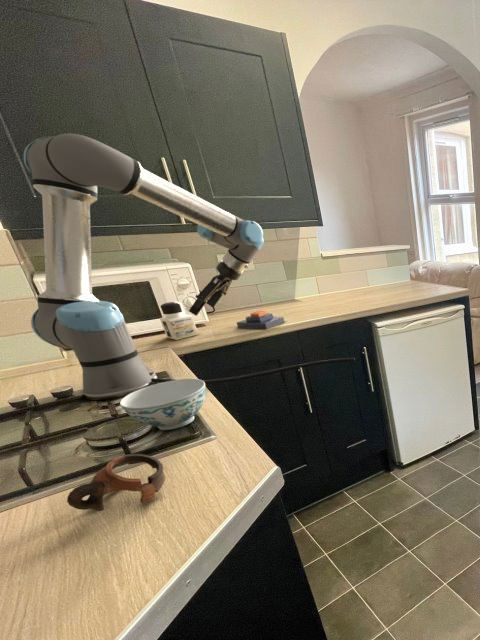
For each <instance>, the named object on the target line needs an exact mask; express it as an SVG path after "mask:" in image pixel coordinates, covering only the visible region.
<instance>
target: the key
mask: <svg viewBox="0 0 480 640" xmlns="http://www.w3.org/2000/svg"><path fill="white" fill-rule="evenodd" d="M266 313H267V311H266V310H256V311H253V312H251V313H250V316H251V317H261V316H264V315H267V314H266Z"/></svg>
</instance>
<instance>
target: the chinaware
mask: <svg viewBox="0 0 480 640" xmlns="http://www.w3.org/2000/svg"><path fill="white" fill-rule="evenodd" d="M206 391H207V388H206V384H205V382H204V380H202V379H199V378H181V379H175V380H172V381H167V382H157V383H156V384H154V385H151V386H148V387H145V388H142V389H139V390H137V391H135V392H132V393H130V394H129V395H127V396H123V397H122V399H121V400H120V402H119V405H120V406H121V408H122V409H123V410H124V412H125V413H126V414H128V416H130V417H131V418H133V419H134V420H136V421H137V422H140V423H142V424H145V425H147V426H153V427H157V428H158V429H159V430H161V431H169V430H170V431H171V430H174V429H178V428H179V429H180V428H182V427H184V426H187V425H189V424H191V423H192V422H194V420H195V415H196V414H197V413H198V412H199V411H200V410H201V409H202V407H203V405H204V403H205V400H206V396H207V395H206V394H207V392H206Z"/></svg>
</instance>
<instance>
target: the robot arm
mask: <svg viewBox="0 0 480 640" xmlns="http://www.w3.org/2000/svg"><path fill="white" fill-rule="evenodd" d="M23 163H24V165H25V168H26V169H27V170H28V172H29V173H30V174H31V177H32V187H33V189H35V190H36V191H37V192H38V193H39V194H40V195H41V199H42V202H41V203H42V223H43V246H44V250H43V251H44V271H45V273H44V274H45V290H44V291H43V292H42V293H40V294H39V295H37V309H36V310H35V311H34V312H33V314H32V315H31V318H30V326H31V328H32V331H33V332H34V333H35V335H36V336H37V337H38V338H39V339H40V340H42V341H44V342H46V343H48V344H50V345H52V346H54V347H57V348H61V349H68V350H69V349H70V350H73V353H74V354H75V356H76V358H77V360H78V362H79V364H80V366H81V370H82V391H83V394H84V396H85V398H86V399H87V400H90V401H105V400H113V399H117V398H118V399H119V398H124V397H125V396H127V395H129V394H130V393H132V392H135V391H137V390H139V389H142V388H145V387H148V386H151V385H154V384H158V383H162V382H167V381H172V380H176V378H175V379H172V378H158V376H157V374H156V373H155V371H154V370H153V369H152V368H151V367H150V366H149V365H148V364H147V362H145V361H144V359H142V358H141V356H140V355H139V352H138V349H137V347H136V345H135V343H134V339H133V338H132V336H131V333H130V331H129V328H128V326H127V324H126V321H125V318H124V314H123V313H122V312H121V311H120V309H119V307H118V306H117V305H116V304H115V303H113V302H111V301H105V300H99V299H98V298H97V297H96V296H95V295H94V294H93V278H92V277H93V276H92V274H93V273H92V239H91V238H92V237H91V235H92V234H91V205H93V203H95V202H97V201H98V187H101V188H104V189H109V190H112V191H115V192H117V193H119V194H122V195H124V196H128V195H133V196H134V197H137V198H139V199H141V200H144V201H146V202H148V203H150V204H153V205H154V206H157V207H159V208H161V209H164V210H165V211H168V212H171V213H172V214H174V215H177V216H179V217H181V218H182V219H183V218H184V219H185V220H188V221H190V222H192V223H195V225H197V228H196V229H197V234H198V235H199V237H201V238H203V239H205V240H207V241H208V242H211V243H213V244H216V245H219V246H221V247H223V248H226V249H227V251H226V252H225V254H224V255H223V256H222V260H220V261H219V262H218V264H217V265H216V268H215V269H216V270H217V272H218V273H219V274H217V275H215V276H213V277H212V278H211V280H210V281H209V282H207V284H206V285H205V286H204V288H203V289H202V290H201V291H200V292H199V293H198V294H195V296H194V297H195V298H196V299H195V301H194V302H193V304H192V305H191V307H190V308H189V309H188V312H189V313H190V314H192V315H194V316H196V317H197V316H198V315H199V314H200V312H201V310H202V309H203V308H204V306H205V304H207V305H208V306H210V307H211V308H215V306H216V305H217V303H218V302H219V301H220V300H221V298H222V297H223V295H224V296H226V295H227V292H228V290H229V289H230V286H231V284H232V282H233V281H238V280H239V278H240V277H241V276H242V274H243V272H244V271H245V270H246V269H249V266H248V265H249V264H251V262H252V260H253V259H254V258H255V257H256V255H257V254H258V253H259V251H260V250H261V248H262V246H263V245H264V243H265V239H264V230H263V229H262V226H260V224H259V223H258V222H256V221H254V220H248V219H242V218H241V217H238V216H237V215H234V214H232V213H230V212H228V211H226V210H224V209H222V208H220V207H218V206H217V205H214V204H213V203H211V202H208V201H207V200H205V199H203V198H202V197H199V196H198V195H195V194H193V193H192V192H190V191H188V190H186V189H184V188H182V187H180V186H178V185H176V184H174V183H172V182H170V181H168V180H166V179H165V178H163V177H160V176H159V175H157V174H155V173H152V172H151V171H149V170H147V169H145V168H143V166H142V165H141V163H140V162H139V161H138V160H136V159H134V158H132V157H131V156H129V155H126V154H125V153H123V152H121V151H120V150H118V149H115V148H113V147H112V146H109V145H107V144H105V143H103V142H101V141H99V140H97V139H94V138H91V137H89V136H85V135H83V134H78V133H61V134H58V135H54V136H42V137H39V138H37V139H35V140H32V141H31V142H29V143H28V145H27V146H26V147H25V148H24V151H23ZM344 362H345V363H346V362H356V358H355V357H348V358H347V357H346V358H334V359H326V360H325V359H324V360H318V361H317V360H316V361H311V362H306V363H300V364H295V365H289V366H285V367H279V368H274V369H270V370H265V371H261V372H255V373H251V374H243V375H239V376H232V377H225V378H216V379H208V380H204V379H203V381H204V382H205V385H209V384H220V383H227V382H234V381H241V380H247V379H251V378H258V377H262V376H266V375H272V374H277V373H281V372H285V371H291V370H295V369H301V368H307V367H311V366H317V365H324V364H325V365H326V364H332V363H333V364H334V363H344ZM161 381H162V382H161Z"/></svg>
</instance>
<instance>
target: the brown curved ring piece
mask: <svg viewBox="0 0 480 640" xmlns="http://www.w3.org/2000/svg"><path fill="white" fill-rule="evenodd" d="M122 463H128V465H129V466H131V465H136V464H143V463H145V464H147V465H149V466H150V467H151V469H156V471H155V472H154V473H152V474H151V475H149V476H148V477H147V482H145V483H142V479H141V478H129V477H124V476H121V475H119V474H117V473H115V472H114V470H115V469H116V468H117V467H118V466H119V465H120V464H122ZM165 480H166V474H165V471H164V467H163V463H162V462H161V460H159V459H157V458H155V457H153V456H150V455H148V454H143V453H130V454H129V453H128V454H125V455H123V454H122V455H121V456H117V457H114V458H112V459H111V460H110V461H109V462H107V464H106V466H104V467H102V468H101V469H100V470H98V472H97V473H95V475H94V476H93V478H92V480H91V481H90V482H87V483H82V484H80V485H78V486H76V487H74V488H73V489H72V490H71V491H69V492H68V496H67V499H66V502H67V503H68V505H69V506H70V507H72V508H74V509H77V510H79V511H80V510H82V511H86V510H87V511H88V510H93V511H96V512H101V511H104V509H105V507H104V496H106V495H108V494H111V493H114V492H118V491H127V492H140V493H141V497H140V503H141V504H146V503H151V502H152V501H153V500H154V498H155V497H156V493H158V492H159V491H160V490H161V489H162V488H163V485H164V483H165ZM87 496H88V498H87V499H84V498H85V497H87Z"/></svg>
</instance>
